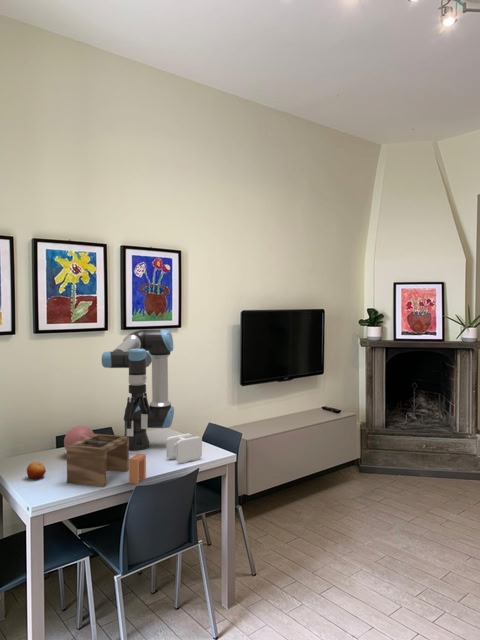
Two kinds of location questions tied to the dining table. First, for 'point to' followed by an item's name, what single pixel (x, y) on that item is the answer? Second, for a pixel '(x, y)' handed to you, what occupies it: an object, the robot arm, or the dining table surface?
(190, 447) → the cable organizer
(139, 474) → the orange arch block
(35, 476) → the fruit
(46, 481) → the dining table surface
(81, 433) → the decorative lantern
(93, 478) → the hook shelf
